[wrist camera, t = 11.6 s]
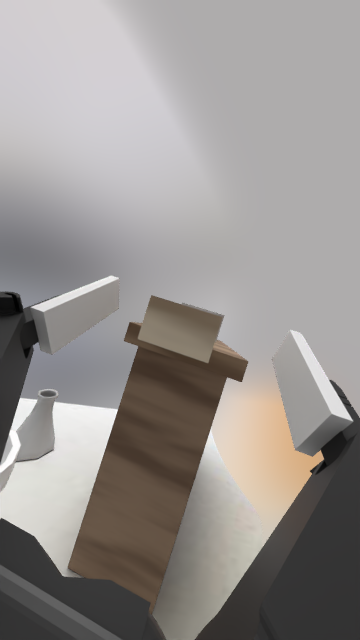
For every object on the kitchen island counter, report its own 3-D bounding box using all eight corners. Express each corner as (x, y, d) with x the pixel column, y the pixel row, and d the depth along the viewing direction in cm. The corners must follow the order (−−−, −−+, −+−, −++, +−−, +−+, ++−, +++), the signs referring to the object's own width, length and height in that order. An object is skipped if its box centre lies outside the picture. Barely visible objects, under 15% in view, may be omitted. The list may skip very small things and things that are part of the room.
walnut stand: (155, 654, 17) (248, 361, 17) (44, 588, 18) (129, 321, 19) (185, 451, 44) (220, 340, 45) (140, 432, 46) (174, 325, 46)
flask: (60, 451, 34) (77, 400, 34) (8, 469, 28) (28, 407, 28) (48, 428, 38) (63, 382, 38) (1, 439, 33) (19, 385, 33)
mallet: (246, 376, 9) (276, 281, 9) (104, 327, 10) (132, 242, 10) (213, 339, 42) (220, 318, 42) (180, 328, 43) (186, 307, 43)
